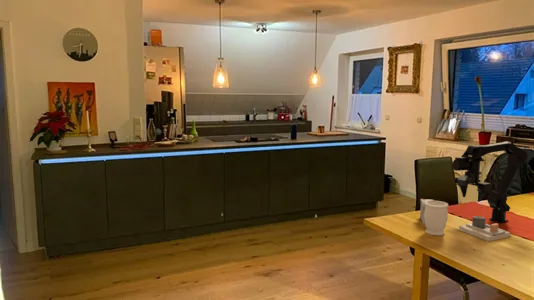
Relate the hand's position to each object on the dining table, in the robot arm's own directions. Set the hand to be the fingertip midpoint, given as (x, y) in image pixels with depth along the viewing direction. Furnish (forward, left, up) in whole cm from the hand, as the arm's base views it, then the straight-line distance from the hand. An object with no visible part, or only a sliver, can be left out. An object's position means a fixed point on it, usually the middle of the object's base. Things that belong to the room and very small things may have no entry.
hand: (471, 199), depth 213 cm
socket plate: (+7, +14, -12) cm, 20 cm away
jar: (+28, +4, -13) cm, 31 cm away
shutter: (+7, +19, -10) cm, 23 cm away
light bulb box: (+18, -11, -13) cm, 25 cm away
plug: (+7, +11, -13) cm, 18 cm away
